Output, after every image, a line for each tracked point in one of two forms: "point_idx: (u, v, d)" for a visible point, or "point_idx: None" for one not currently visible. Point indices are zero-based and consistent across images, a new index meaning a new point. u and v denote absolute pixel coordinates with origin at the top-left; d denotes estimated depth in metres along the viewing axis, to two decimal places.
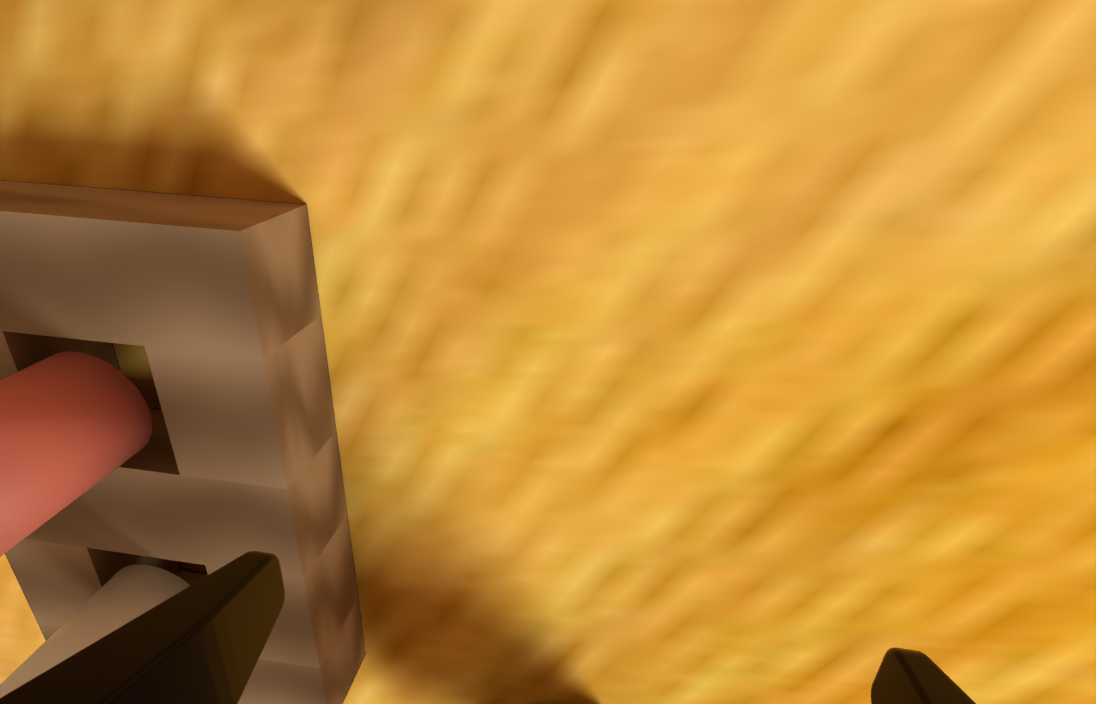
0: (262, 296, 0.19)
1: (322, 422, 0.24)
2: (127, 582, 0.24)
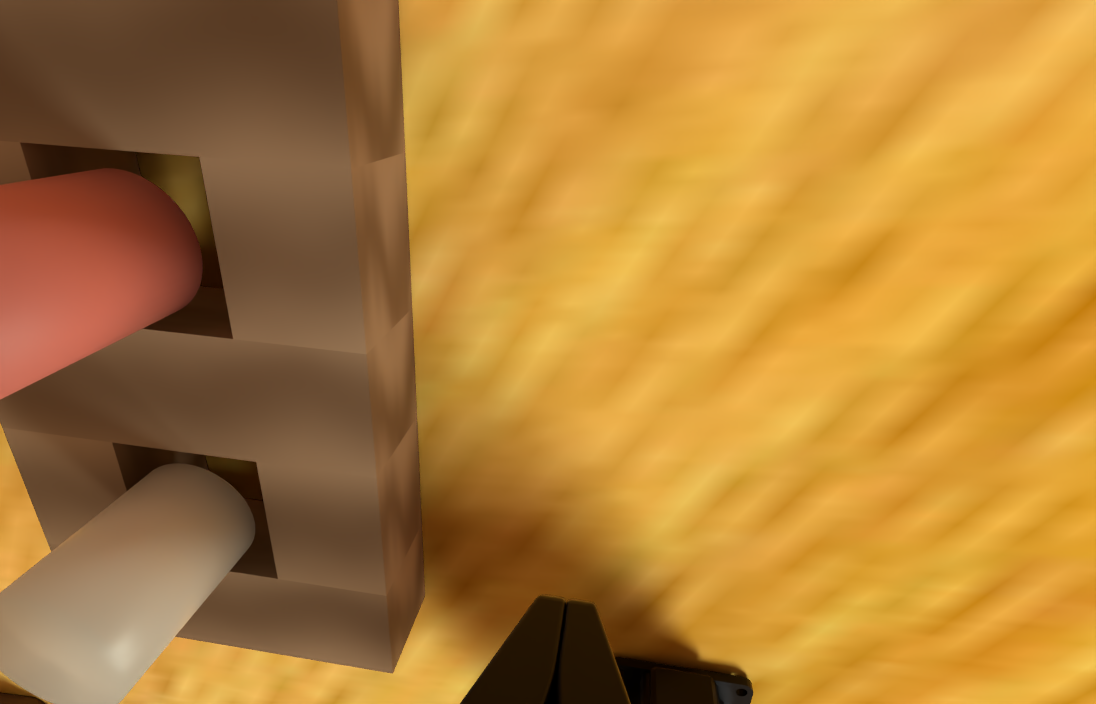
0: (353, 85, 0.15)
1: (400, 289, 0.20)
2: (162, 480, 0.20)
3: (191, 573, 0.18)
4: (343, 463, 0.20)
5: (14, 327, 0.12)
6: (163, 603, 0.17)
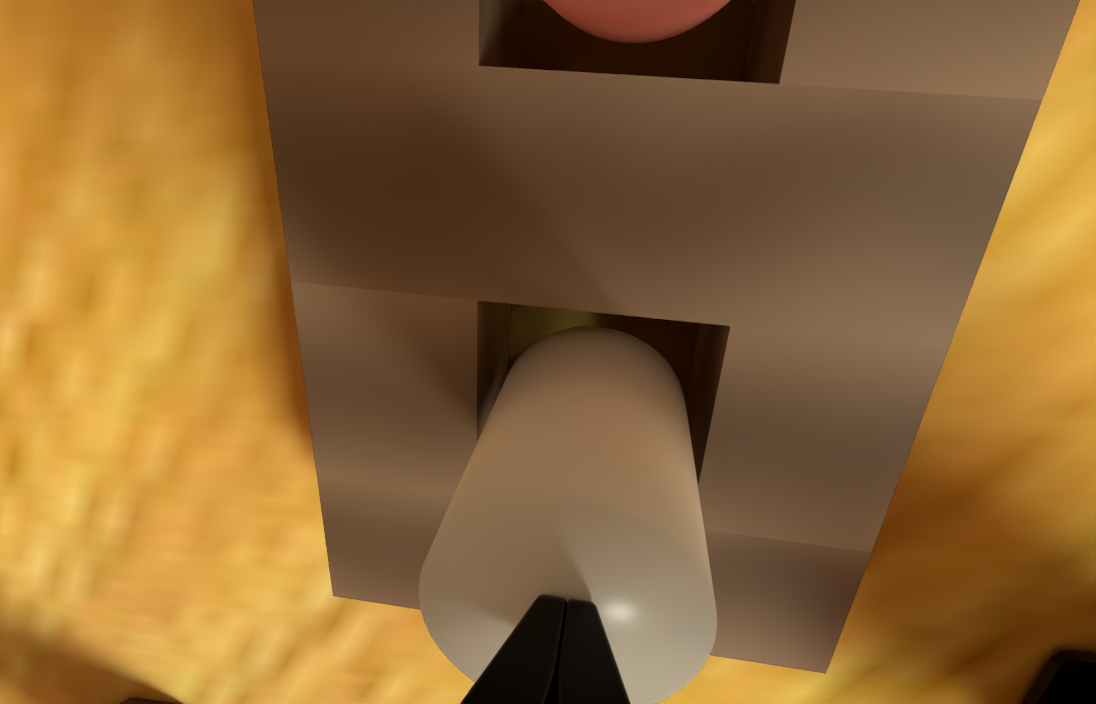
0: None
1: None
2: (589, 343, 0.12)
3: (697, 483, 0.11)
4: (896, 322, 0.12)
5: None
6: (703, 525, 0.10)
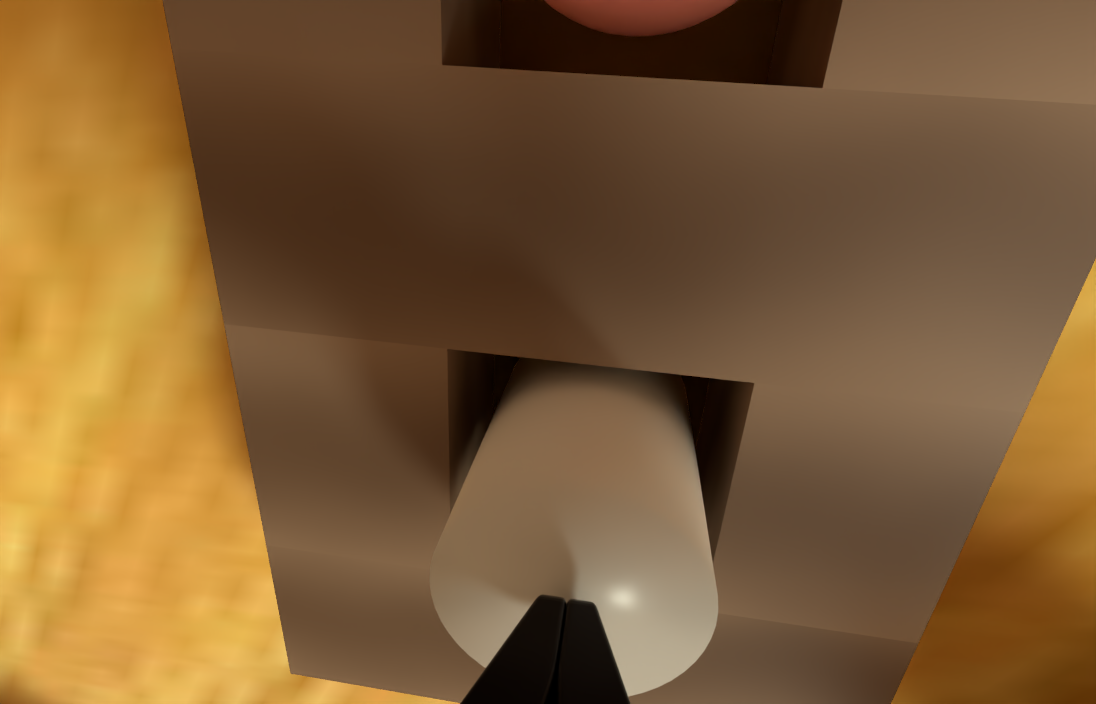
0: None
1: None
2: None
3: None
4: (960, 381, 0.10)
5: None
6: (704, 515, 0.10)
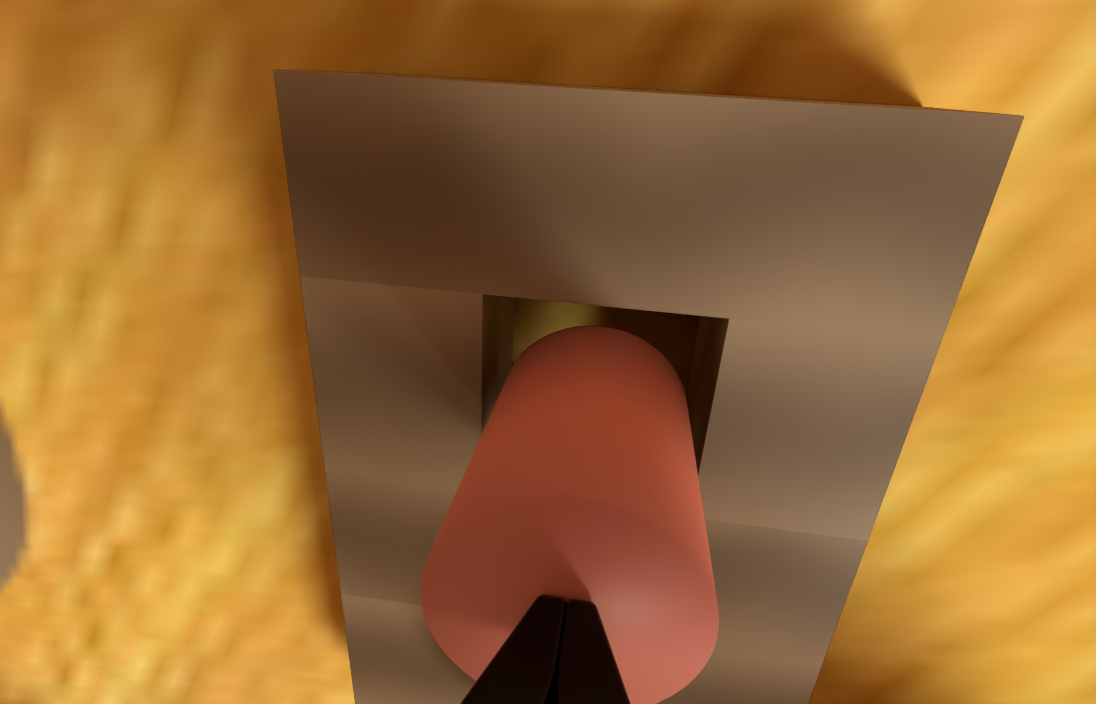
0: None
1: None
2: None
3: None
4: (782, 650, 0.16)
5: (714, 625, 0.09)
6: None
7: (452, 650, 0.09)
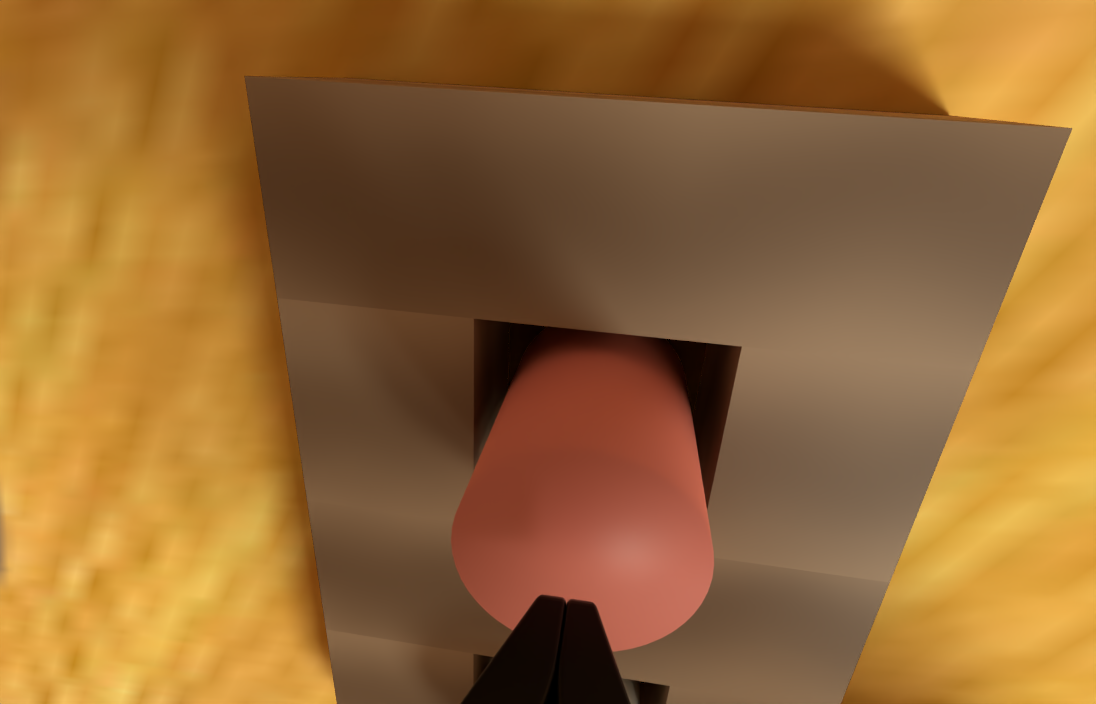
0: None
1: None
2: None
3: None
4: (795, 695, 0.15)
5: (709, 568, 0.10)
6: None
7: (477, 594, 0.11)
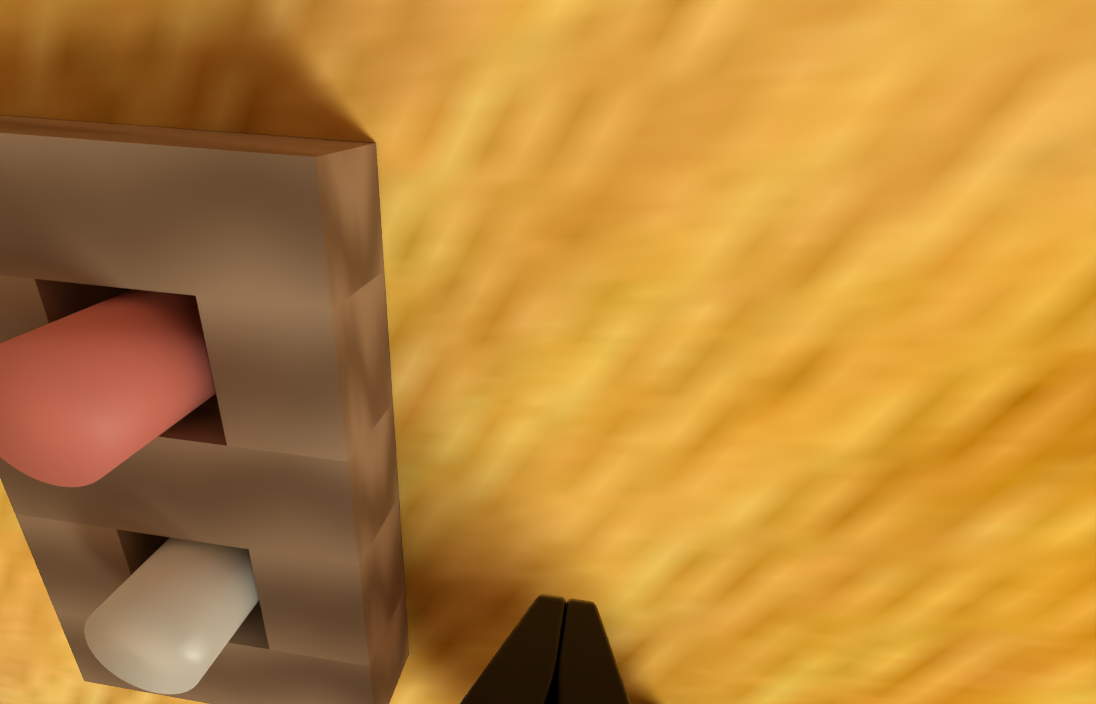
0: (332, 237, 0.17)
1: (381, 391, 0.22)
2: None
3: (245, 585, 0.23)
4: (328, 552, 0.21)
5: (119, 427, 0.16)
6: (226, 609, 0.22)
7: None
